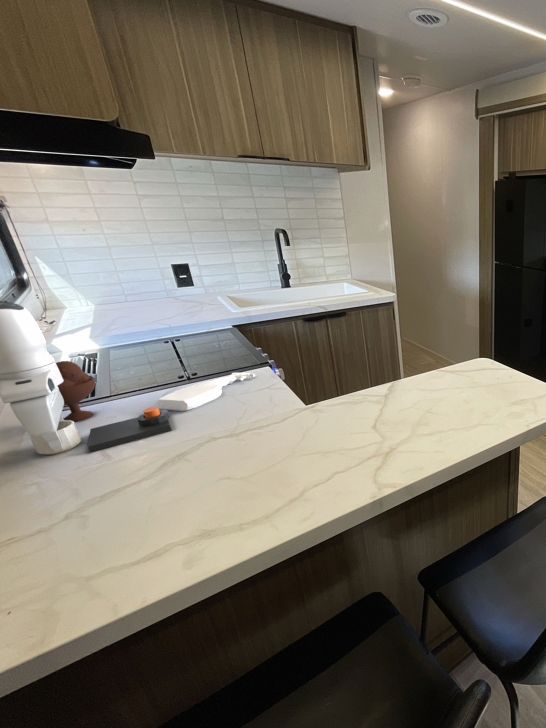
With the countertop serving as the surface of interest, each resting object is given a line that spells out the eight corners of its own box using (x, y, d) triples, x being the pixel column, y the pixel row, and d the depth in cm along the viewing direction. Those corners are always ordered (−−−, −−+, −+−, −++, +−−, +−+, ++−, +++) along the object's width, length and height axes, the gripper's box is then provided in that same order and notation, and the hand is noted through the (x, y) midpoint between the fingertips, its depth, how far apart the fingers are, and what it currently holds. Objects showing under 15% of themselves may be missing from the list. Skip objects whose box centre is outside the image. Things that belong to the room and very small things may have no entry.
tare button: (145, 419, 94) (143, 413, 94) (145, 415, 96) (142, 409, 96) (160, 416, 96) (158, 409, 96) (160, 412, 98) (157, 405, 97)
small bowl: (36, 459, 84) (25, 438, 82) (40, 447, 89) (30, 427, 87) (81, 447, 88) (72, 427, 86) (83, 436, 93) (74, 417, 91)
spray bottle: (155, 409, 106) (231, 377, 128) (189, 412, 104) (260, 379, 126) (151, 399, 105) (228, 368, 127) (186, 402, 103) (258, 370, 125)
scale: (90, 452, 86) (85, 440, 85) (92, 434, 94) (87, 422, 93) (173, 429, 95) (169, 418, 94) (169, 414, 103) (165, 404, 102)
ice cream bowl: (100, 405, 109) (79, 352, 104) (112, 415, 103) (90, 360, 98) (44, 420, 101) (18, 364, 96) (53, 432, 95) (26, 373, 90)
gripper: (16, 371, 88) (44, 426, 93) (-3, 398, 74) (31, 462, 79) (57, 364, 92) (81, 417, 97) (46, 388, 78) (76, 450, 83)
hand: (59, 438), depth 88 cm, fingers open, 8 cm apart
